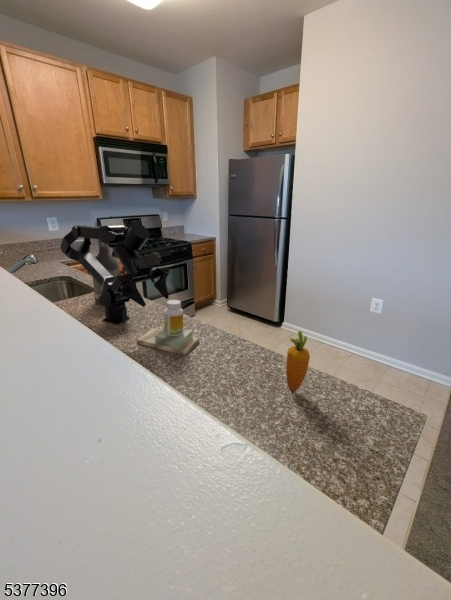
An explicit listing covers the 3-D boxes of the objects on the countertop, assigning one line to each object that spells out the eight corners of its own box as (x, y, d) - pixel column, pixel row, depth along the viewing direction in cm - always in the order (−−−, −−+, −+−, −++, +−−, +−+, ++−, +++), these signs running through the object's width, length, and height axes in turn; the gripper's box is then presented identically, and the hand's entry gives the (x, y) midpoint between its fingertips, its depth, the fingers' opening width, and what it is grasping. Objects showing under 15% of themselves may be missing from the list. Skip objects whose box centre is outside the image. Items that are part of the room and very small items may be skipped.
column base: (137, 343, 81) (136, 332, 80) (154, 331, 89) (154, 321, 88) (185, 355, 76) (185, 343, 75) (199, 341, 85) (199, 331, 83)
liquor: (98, 298, 116) (91, 225, 106) (121, 298, 118) (116, 226, 108) (94, 306, 107) (86, 227, 98) (119, 305, 110) (113, 228, 100)
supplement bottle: (186, 331, 83) (186, 301, 79) (176, 338, 78) (176, 306, 75) (171, 327, 85) (171, 297, 81) (160, 334, 80) (160, 302, 77)
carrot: (299, 402, 60) (310, 341, 56) (278, 393, 63) (286, 334, 58) (306, 390, 64) (316, 332, 60) (285, 382, 67) (294, 326, 62)
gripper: (114, 246, 72) (144, 295, 70) (165, 241, 87) (192, 281, 85) (99, 270, 79) (126, 315, 77) (149, 261, 94) (173, 299, 92)
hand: (156, 302), depth 82 cm, fingers open, 9 cm apart
